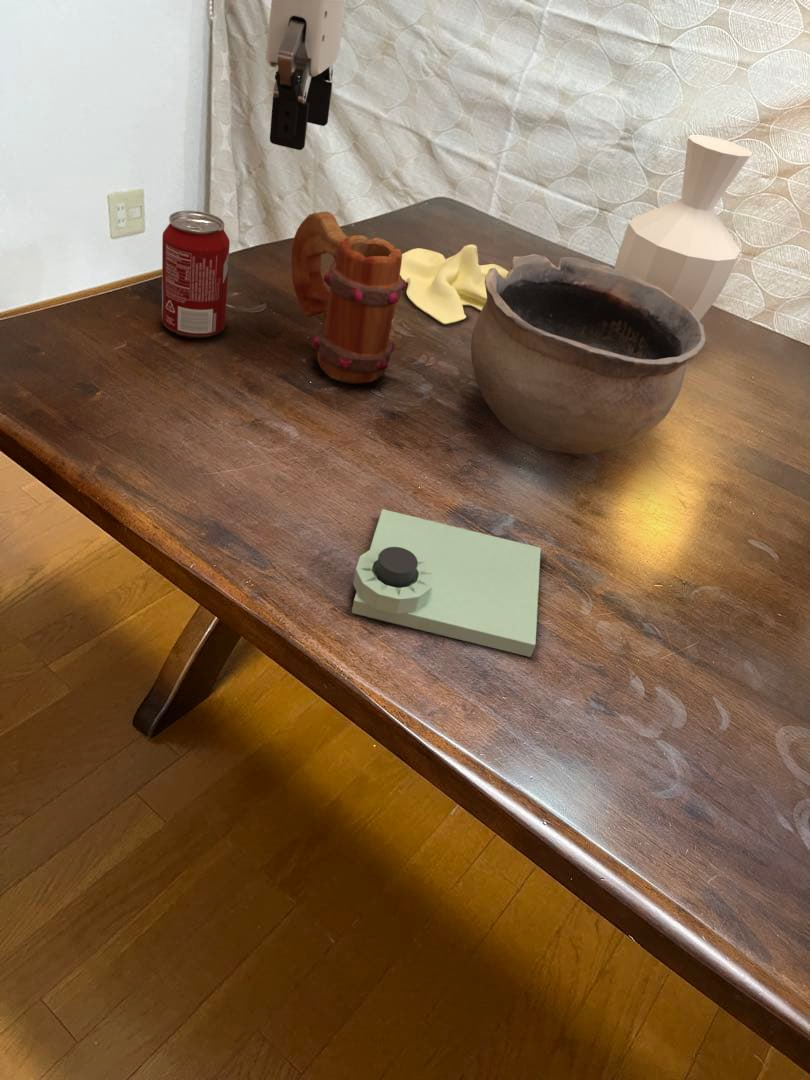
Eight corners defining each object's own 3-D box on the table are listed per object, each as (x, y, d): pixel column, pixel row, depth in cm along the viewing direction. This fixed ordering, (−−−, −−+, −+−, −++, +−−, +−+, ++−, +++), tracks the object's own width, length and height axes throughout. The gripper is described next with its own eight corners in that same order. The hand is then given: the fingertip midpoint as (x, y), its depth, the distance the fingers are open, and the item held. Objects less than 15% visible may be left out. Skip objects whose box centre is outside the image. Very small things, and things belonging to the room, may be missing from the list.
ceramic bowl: (538, 362, 105) (576, 241, 95) (689, 451, 94) (748, 325, 85) (411, 406, 91) (440, 270, 82) (572, 517, 81) (627, 376, 71)
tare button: (371, 582, 65) (375, 567, 64) (379, 558, 67) (382, 542, 66) (410, 592, 65) (414, 577, 64) (416, 567, 67) (420, 552, 66)
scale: (344, 615, 65) (349, 586, 63) (374, 519, 75) (380, 492, 73) (530, 661, 65) (541, 634, 63) (536, 559, 75) (546, 533, 73)
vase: (660, 316, 124) (733, 132, 108) (716, 366, 114) (805, 171, 98) (575, 313, 119) (638, 120, 103) (625, 365, 109) (704, 160, 93)
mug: (406, 383, 95) (433, 250, 85) (353, 402, 89) (376, 262, 80) (316, 327, 101) (332, 197, 92) (262, 342, 96) (274, 206, 87)
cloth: (384, 249, 124) (392, 206, 120) (508, 268, 127) (519, 226, 124) (397, 318, 107) (406, 271, 103) (539, 337, 110) (553, 292, 107)
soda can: (218, 347, 93) (224, 238, 86) (155, 336, 92) (155, 225, 85) (229, 320, 98) (235, 215, 91) (169, 309, 98) (170, 203, 90)
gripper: (302, -93, 80) (284, 106, 90) (248, -87, 66) (235, 147, 77) (381, -74, 80) (354, 122, 90) (343, -64, 66) (317, 166, 77)
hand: (299, 133), depth 84 cm, fingers open, 9 cm apart
